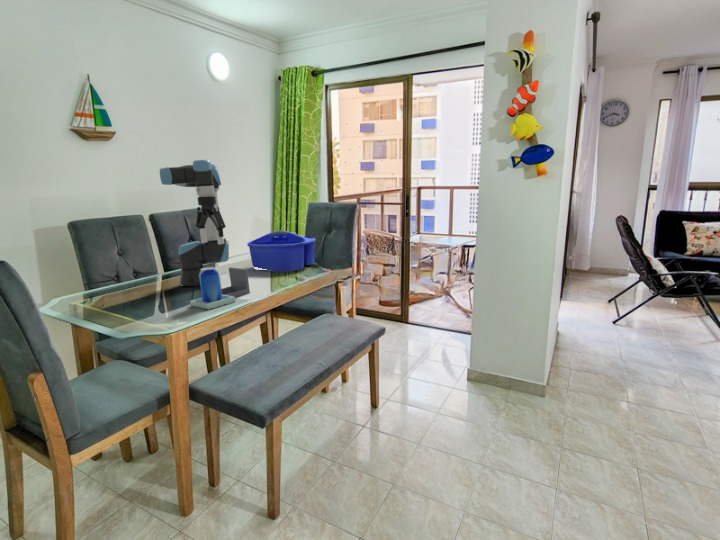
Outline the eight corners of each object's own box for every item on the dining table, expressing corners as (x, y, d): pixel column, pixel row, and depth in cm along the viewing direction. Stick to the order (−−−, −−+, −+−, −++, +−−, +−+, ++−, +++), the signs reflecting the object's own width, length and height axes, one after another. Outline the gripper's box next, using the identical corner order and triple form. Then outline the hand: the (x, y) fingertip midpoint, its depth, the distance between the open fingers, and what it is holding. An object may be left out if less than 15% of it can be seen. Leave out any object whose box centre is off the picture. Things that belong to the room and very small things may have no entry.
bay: (214, 295, 212) (211, 271, 209) (233, 290, 220) (230, 267, 218) (230, 298, 203) (227, 273, 201) (249, 293, 212) (246, 269, 210)
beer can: (204, 306, 191) (199, 271, 187) (201, 302, 198) (196, 268, 195) (224, 302, 194) (219, 268, 191) (220, 299, 202) (216, 265, 198)
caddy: (302, 272, 253) (298, 233, 249) (239, 271, 270) (235, 234, 265) (326, 262, 282) (323, 226, 277) (268, 261, 298) (264, 228, 294)
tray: (190, 306, 195) (190, 300, 194) (217, 298, 206) (217, 293, 205) (208, 310, 186) (207, 304, 186) (235, 302, 197) (234, 296, 196)
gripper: (183, 197, 196) (190, 243, 201) (214, 196, 180) (221, 246, 185) (198, 195, 202) (205, 240, 206) (229, 194, 186) (235, 243, 191)
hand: (212, 243), depth 196 cm, fingers open, 13 cm apart
